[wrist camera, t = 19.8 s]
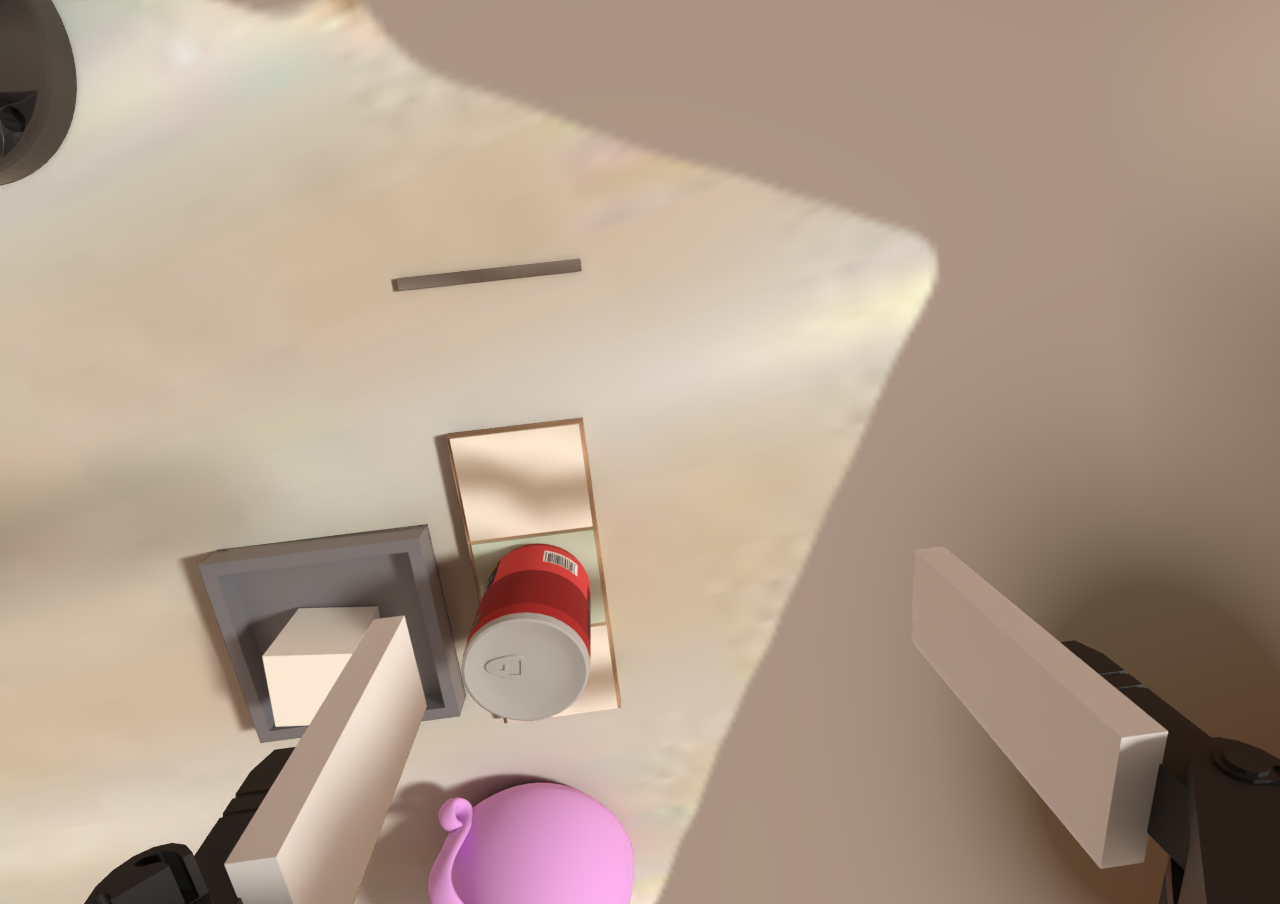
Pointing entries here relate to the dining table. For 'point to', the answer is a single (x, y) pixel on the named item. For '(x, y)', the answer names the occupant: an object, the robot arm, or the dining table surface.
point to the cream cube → (312, 659)
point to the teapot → (532, 850)
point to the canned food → (531, 635)
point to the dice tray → (333, 577)
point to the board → (532, 496)
